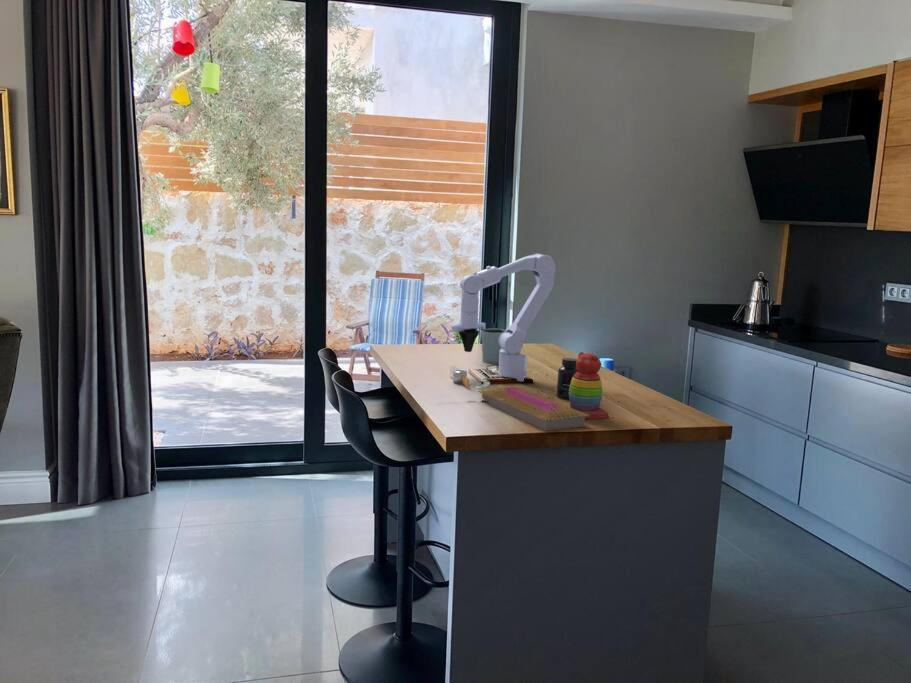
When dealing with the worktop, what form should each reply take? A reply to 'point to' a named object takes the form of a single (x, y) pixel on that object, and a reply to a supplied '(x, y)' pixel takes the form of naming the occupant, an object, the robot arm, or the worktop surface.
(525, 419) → the rafter model
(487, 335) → the grey cylinder
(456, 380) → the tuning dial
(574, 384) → the stacking bear
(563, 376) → the supplement bottle
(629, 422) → the worktop surface
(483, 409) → the worktop surface
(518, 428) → the worktop surface
